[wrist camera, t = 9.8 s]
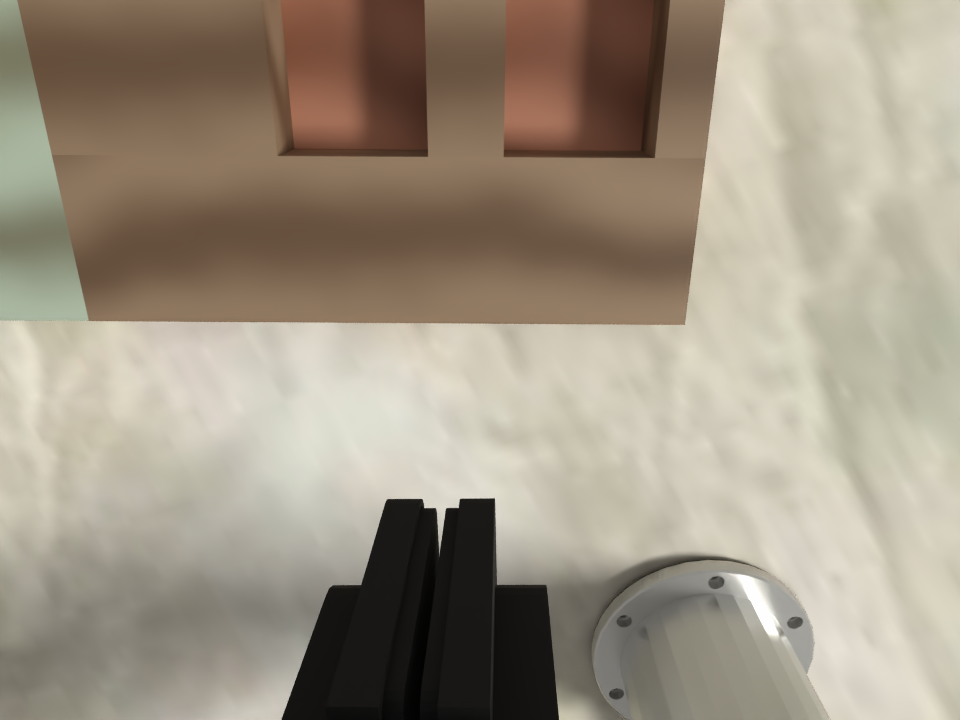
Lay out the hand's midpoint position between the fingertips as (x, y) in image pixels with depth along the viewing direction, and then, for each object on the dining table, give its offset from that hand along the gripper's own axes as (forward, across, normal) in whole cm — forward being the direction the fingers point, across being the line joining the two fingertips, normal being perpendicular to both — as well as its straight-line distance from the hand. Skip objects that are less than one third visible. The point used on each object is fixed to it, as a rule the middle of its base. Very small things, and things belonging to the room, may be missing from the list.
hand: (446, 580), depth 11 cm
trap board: (+22, +8, -8) cm, 25 cm away
